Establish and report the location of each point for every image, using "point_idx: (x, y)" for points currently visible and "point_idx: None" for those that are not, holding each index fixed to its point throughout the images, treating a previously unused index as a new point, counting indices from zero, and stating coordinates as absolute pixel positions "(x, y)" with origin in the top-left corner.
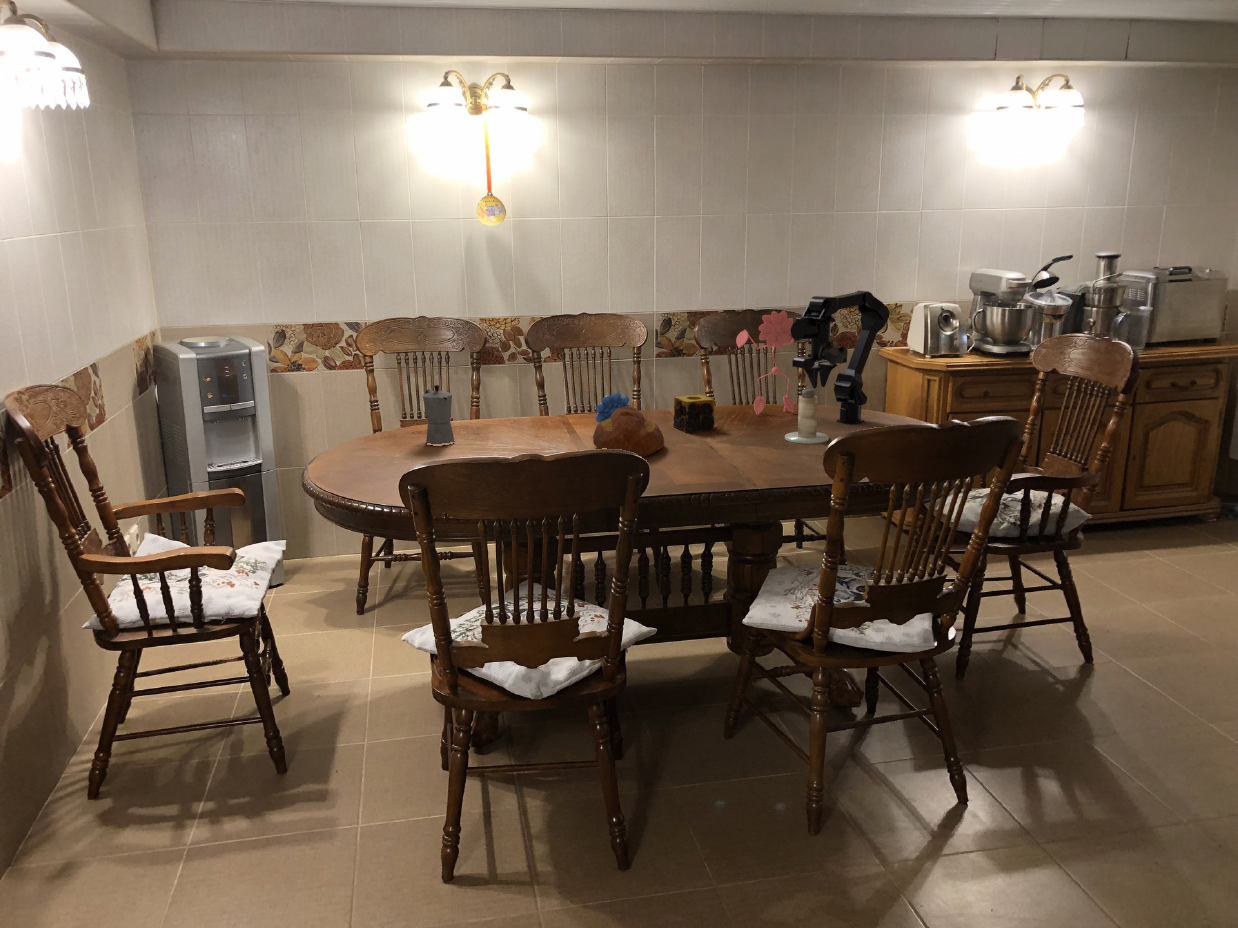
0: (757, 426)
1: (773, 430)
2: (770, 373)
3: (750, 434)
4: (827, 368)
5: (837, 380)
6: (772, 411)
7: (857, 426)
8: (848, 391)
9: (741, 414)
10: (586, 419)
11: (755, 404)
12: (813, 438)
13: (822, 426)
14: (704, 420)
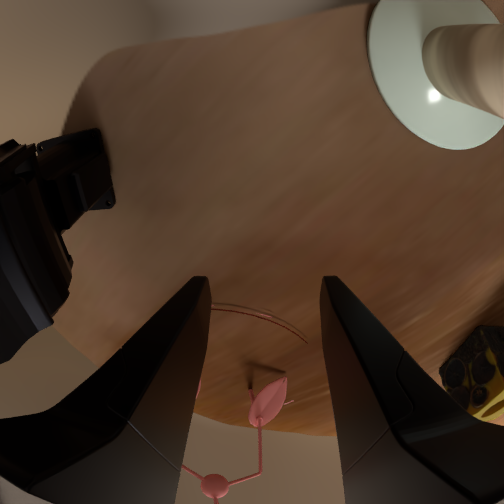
0: (396, 304)
1: (418, 239)
2: (233, 482)
3: (491, 245)
4: (114, 470)
5: (22, 329)
6: (211, 381)
7: (97, 89)
8: (16, 191)
9: (298, 394)
10: None
11: (277, 406)
12: (463, 22)
13: (220, 169)
14: (499, 346)
